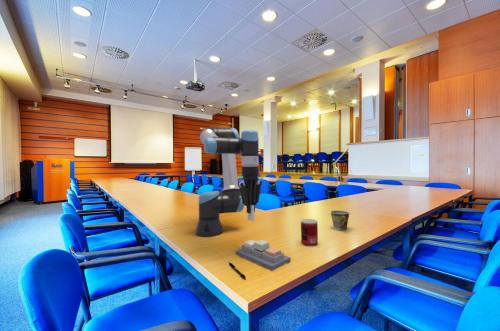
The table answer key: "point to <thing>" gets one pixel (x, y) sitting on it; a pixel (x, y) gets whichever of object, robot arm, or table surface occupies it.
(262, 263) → the keypad
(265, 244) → the key green
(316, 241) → the canned food
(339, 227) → the ceramic cup
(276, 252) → the key terracotta
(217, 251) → the table surface
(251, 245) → the key ivory
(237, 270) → the pen
